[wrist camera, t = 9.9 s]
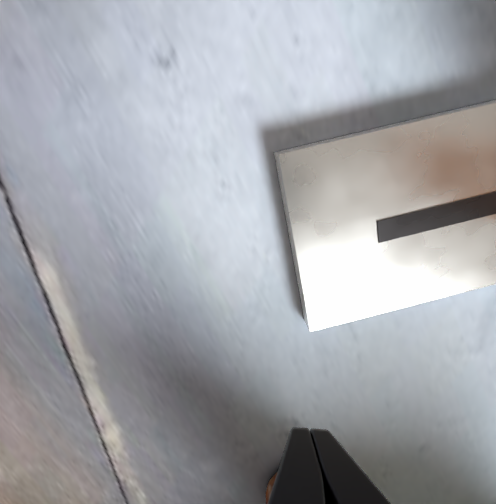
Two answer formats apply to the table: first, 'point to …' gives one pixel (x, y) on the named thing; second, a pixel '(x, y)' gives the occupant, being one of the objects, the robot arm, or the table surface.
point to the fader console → (392, 214)
